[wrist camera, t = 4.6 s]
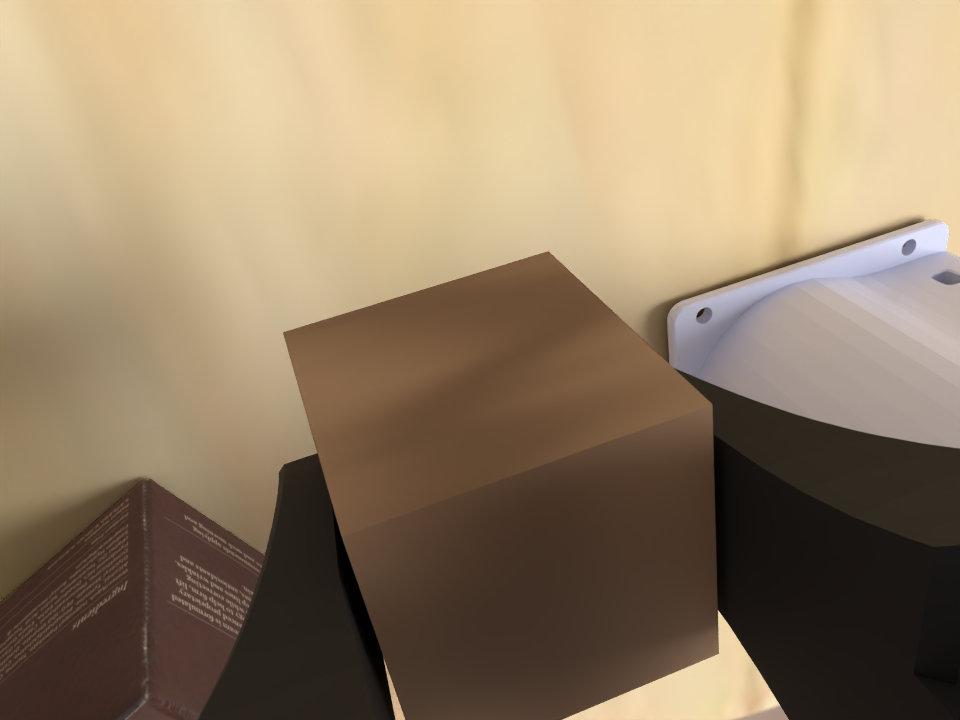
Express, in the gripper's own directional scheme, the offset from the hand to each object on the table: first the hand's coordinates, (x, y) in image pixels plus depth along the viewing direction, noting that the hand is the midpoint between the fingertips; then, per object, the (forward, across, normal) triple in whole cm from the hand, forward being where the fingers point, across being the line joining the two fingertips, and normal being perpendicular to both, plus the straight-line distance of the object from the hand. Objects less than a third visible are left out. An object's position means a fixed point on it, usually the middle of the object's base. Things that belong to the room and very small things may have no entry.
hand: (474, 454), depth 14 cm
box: (+9, +8, +8) cm, 14 cm away
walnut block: (+2, 0, 0) cm, 2 cm away
